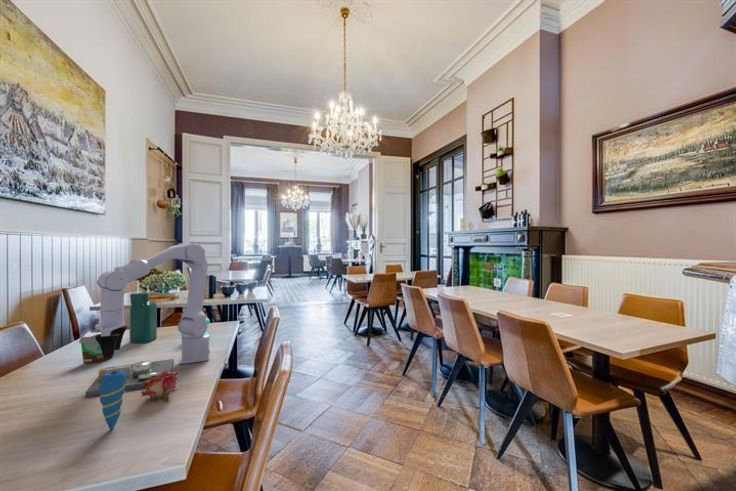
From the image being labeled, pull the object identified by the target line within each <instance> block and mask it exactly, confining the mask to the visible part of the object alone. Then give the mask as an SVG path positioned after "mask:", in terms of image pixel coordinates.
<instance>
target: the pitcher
mask: <svg viewBox="0 0 736 491" xmlns="http://www.w3.org/2000/svg"><path fill="white" fill-rule="evenodd" d="M151 294H152V292H150V291H143V292H142V291H141V292H137V293H130V295H129V296H130V304H131V305H130V306H129V341H128V342H129V343H130V344H147V342H148V343H150V342H152V341H154V340H157V336H158V335H157V334H158V332H157V326H158V323H157V322H158V321H157V320H158V319H157V318H158V317H157V316H158V314H157V313H158V312H157V311H158V310H157V308H158V306H157V305H158V304H157V303H156V302H154V301H150V300H149V295H151Z"/></svg>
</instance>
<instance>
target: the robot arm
mask: <svg viewBox="0 0 736 491" xmlns="http://www.w3.org/2000/svg"><path fill="white" fill-rule="evenodd" d="M173 259H176V260H179V261H181V262H182V263H185V264H186V265H187V266H188V267H189V268H190V277H189V286H188V291H187V292H188V293H187V302H186V309H185V311H184V312H182V314H181V318H180V320H179V321H178V324H177V330H178V331H179V333H180V334H181V356H180V360H179V365H184V364H185V365H186V364H191V363H198V362H199V363H200V362H206V361H209V360H210V359H209V358H210V352H211V349H210V337H209V336H210V334H209V335H204V334H205V332H206V333H207V330H208V325H207V323H206V318H207V315H206V314H205V312H204V311H203V308H204V302H205V301H204V299H205V292H206V283H207V275H208V261H207V257H206V250H205V248H204V247H203V246H202V245H201V244H199V243H197V242H194V243H180V242H179V243H177V244H176V245H171V246H170V247H167V248H166V249H163V250H162V251H160V252H158V253H156V254H154V255H152V256H150V257H148V258H146V259H141V258H132V259H130V260H129V262H128V263H126V264H123V265H122V266H116V267H114V268H113V269H114V270H109V271H108V270H107V271H103V273H101V274H100V275H99V277H98V280H96V284H97V286H98V287H99V288H100V304H99V305H100V307H99V308H100V313H99V316H100V320H99V321H100V323H99V324H96V325H95V326H94V327H95V329H99V330H100V334H101V335H96V334H95V335H96V336H95V339H96V340H97V342H98V343H99V345H100V347H101V350H102V354H103V357H104V358H111V359H113V358H112V357H114V356H115V355H114V354H115V351H119V350H120V349H121V346H122V341H123V337H124V334H125V332H126V330H127V329H128V325H125V320H124V319H125V288H126V287H127V285H128V284H130V283H132V282H134V281H136V280H138V279H139V278H142V277H145V276H146V275H148V274H149V273H150V270H151V269H152V268H154V267H157V266H159V265H161V264H163V263H166V262H168V261H170V260H173Z"/></svg>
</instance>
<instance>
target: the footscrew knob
mask: <svg viewBox="0 0 736 491" xmlns="http://www.w3.org/2000/svg"><path fill="white" fill-rule="evenodd" d="M152 362H153V361H151V360H142V361H138V362H135V363H132V364H133V375H134V376H139V375H143V374H149V373H150V372H151V364H152ZM129 365H130V366H123V365H122V366H123V367H116V366H115V367H116V370H122V371H124V372H125V373H126V375H128V374H131V364H129ZM105 368H106V369H105ZM105 368H100V369H99V370H98V376H99V379H101V377H102V375H103V374H105V373H107V372H110V371H111V369H112V368H108V367H105Z"/></svg>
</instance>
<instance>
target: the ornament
mask: <svg viewBox="0 0 736 491" xmlns="http://www.w3.org/2000/svg"><path fill="white" fill-rule="evenodd" d="M111 367H115V368H112V369H111V371H110V372H107V373H105V374H103V375H102V377H101V385H100V386H99V388H98V390H99V393H100V394H101V395H100V396H99V397H100V398H99V402H100V404H101V405H102V408H101V409H102V410H101V411H102V415H103V417H104V419H105V422H106V424H107V426H108V429H109V430H114V428H115V426H116V424H117V422H118V420H119V417H120V415H121V410H122V409H121V408H122V404H123V401H124V399H123V395H124V393H125V392H126V391H125V385H124V384H125V382H126V379H127V376H126V373H125V372H124V371H122V370H116V366H114V365H112V366H111Z"/></svg>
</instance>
